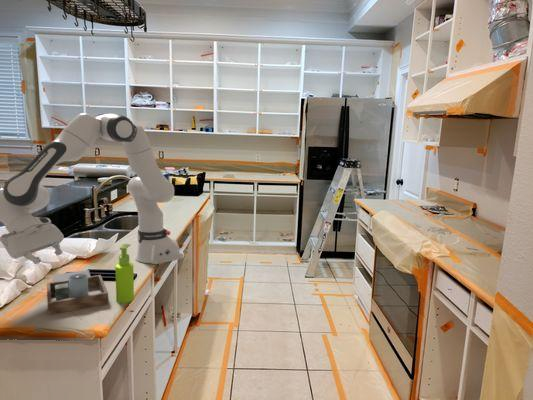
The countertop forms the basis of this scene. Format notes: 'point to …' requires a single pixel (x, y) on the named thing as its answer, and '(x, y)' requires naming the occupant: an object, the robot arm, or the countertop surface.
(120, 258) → the soap dispenser
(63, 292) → the block
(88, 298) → the crate
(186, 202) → the countertop surface
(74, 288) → the cup
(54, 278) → the board
